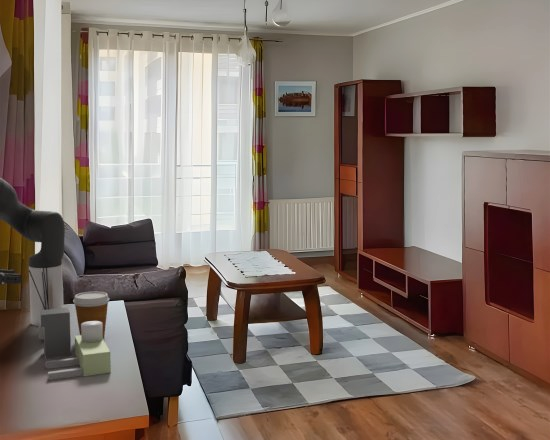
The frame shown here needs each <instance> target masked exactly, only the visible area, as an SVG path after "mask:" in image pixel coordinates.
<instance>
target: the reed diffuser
mask: <svg viewBox="0 0 550 440" xmlns="http://www.w3.org/2000/svg"><path fill="white" fill-rule="evenodd" d="M29 272H30V270H29V269H28V273H29ZM43 274H44V279H43ZM30 275H31V272H30ZM31 277H32V275H31ZM46 279H47V266H46ZM32 280H33V282H34V279H33V277H32ZM42 280H43V289H44V299H45V306H44V304H43V302H42V299H41V297H40V294H39V292H38V289H37V287H36V284H35V282H34V285H35V287H36V290H37V292H38V294H39V297H40V299H41V302H42V304H43V307H44V309H45V308H46V298H45V289H46V281H45V273H44V268H43V272H42ZM44 282H45V288H44ZM46 297H47V305H48V309H49V302H48V279H47V289H46ZM45 310H47V308H46V309H45ZM37 328H38V338H39V339H40V340H44V336H43V327H41V325H40V323H39V325H38V326H37Z"/></svg>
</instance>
